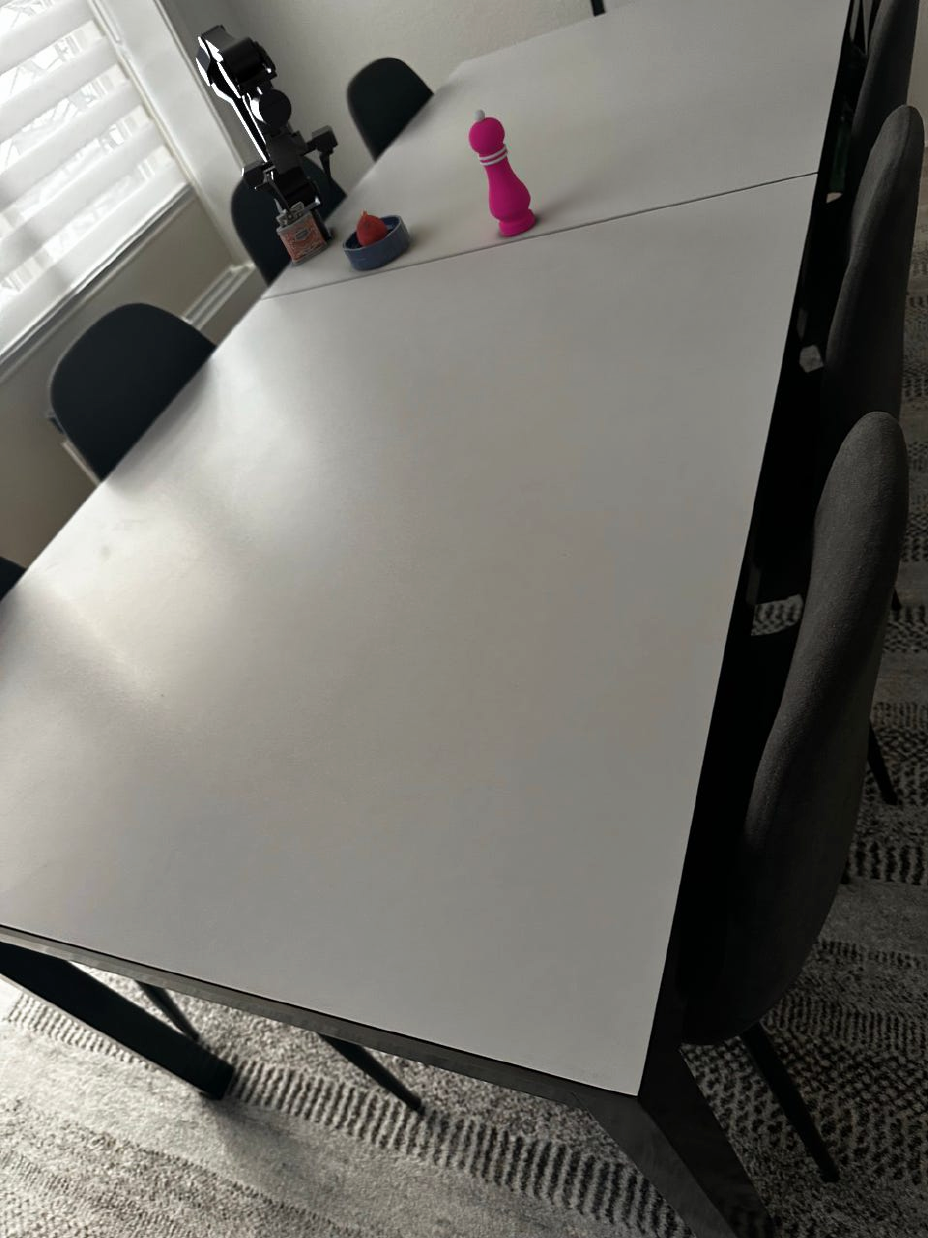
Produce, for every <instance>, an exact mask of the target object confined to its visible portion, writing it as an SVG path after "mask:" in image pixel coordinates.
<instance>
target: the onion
mask: <svg viewBox="0 0 928 1238" xmlns="http://www.w3.org/2000/svg"><path fill="white" fill-rule="evenodd" d="M380 218H381V217H379V216H376V215H373V214H368V211H367V210H362V211H361V212H360V219H359V220H358V223H357V225H356V229H357V237H358V240H359V242H360V244H361V245H362V246H363V247H365V246H368V245H371V244H373V243H375V242H377V241H379V240H381V239H382V238H384V237H385V236H387V235H388V231H387V228H386V226H385V224H384V222H383V221H382V220H381V219H380Z"/></svg>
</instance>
